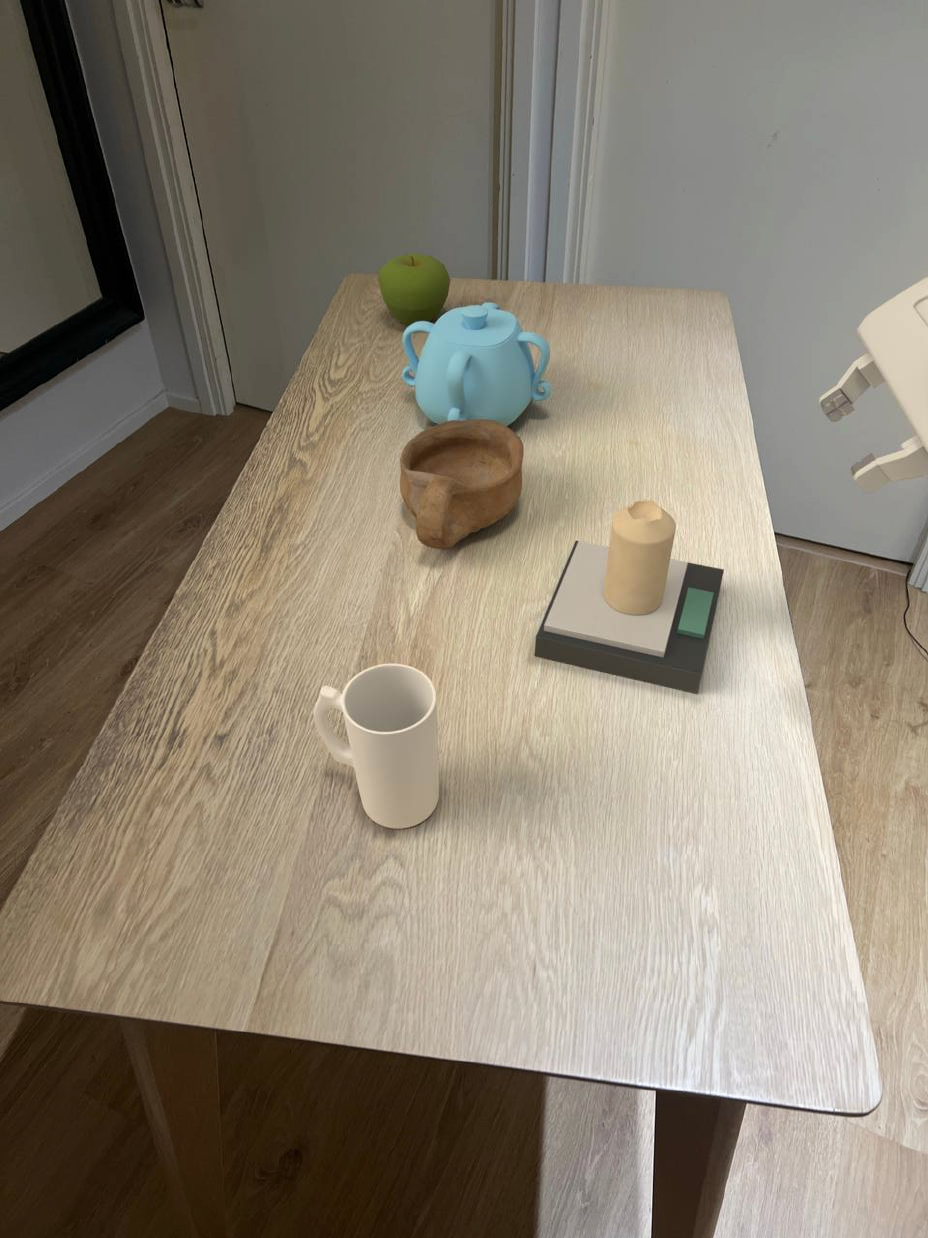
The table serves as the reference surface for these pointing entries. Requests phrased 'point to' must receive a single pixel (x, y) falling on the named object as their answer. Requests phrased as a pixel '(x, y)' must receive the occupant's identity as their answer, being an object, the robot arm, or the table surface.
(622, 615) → the scale
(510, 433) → the bowl
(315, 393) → the table surface
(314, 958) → the table surface
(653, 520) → the candle
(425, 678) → the mug
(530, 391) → the decorative pot
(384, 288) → the apple
